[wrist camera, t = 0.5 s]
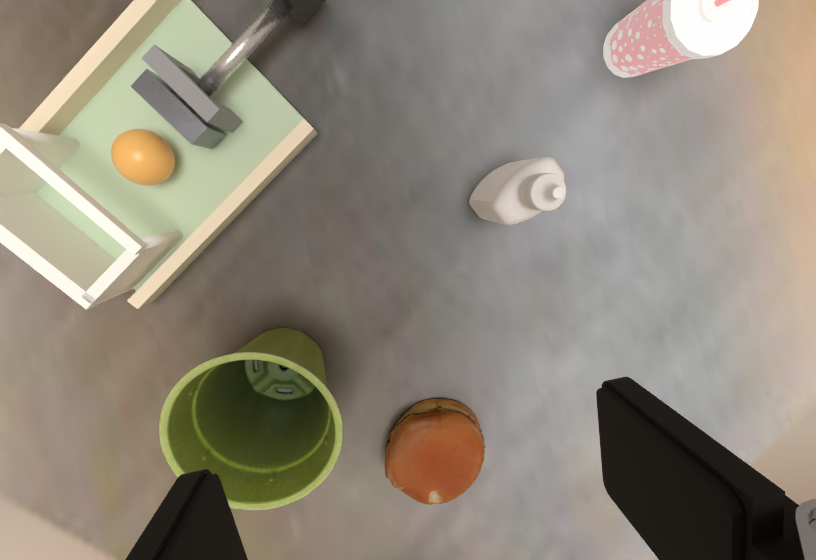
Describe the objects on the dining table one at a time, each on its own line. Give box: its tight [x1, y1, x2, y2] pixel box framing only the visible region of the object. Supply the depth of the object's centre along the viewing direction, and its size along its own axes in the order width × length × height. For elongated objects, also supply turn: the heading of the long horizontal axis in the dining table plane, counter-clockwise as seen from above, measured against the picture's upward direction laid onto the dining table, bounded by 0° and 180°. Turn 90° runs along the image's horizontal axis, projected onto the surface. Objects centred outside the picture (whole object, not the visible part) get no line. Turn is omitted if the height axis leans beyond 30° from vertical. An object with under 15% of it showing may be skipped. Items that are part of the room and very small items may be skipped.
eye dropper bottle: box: [469, 157, 566, 225], centre depth 31 cm, size 4×6×12 cm
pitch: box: [0, 0, 318, 309], centre depth 30 cm, size 20×14×8 cm
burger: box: [385, 399, 485, 504], centre depth 40 cm, size 10×9×5 cm
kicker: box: [131, 0, 325, 149], centre depth 28 cm, size 14×5×6 cm, turn 134°
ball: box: [111, 129, 175, 185], centre depth 31 cm, size 4×4×4 cm
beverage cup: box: [603, 0, 759, 78], centre depth 28 cm, size 6×6×14 cm
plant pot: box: [159, 328, 343, 510], centre depth 33 cm, size 12×12×11 cm
